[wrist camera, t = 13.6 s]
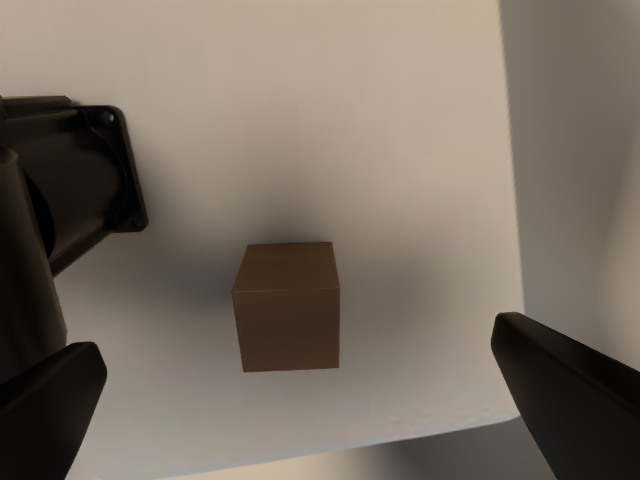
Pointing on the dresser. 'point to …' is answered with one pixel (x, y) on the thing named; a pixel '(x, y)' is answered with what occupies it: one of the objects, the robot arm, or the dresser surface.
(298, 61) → the dresser surface
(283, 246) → the block
